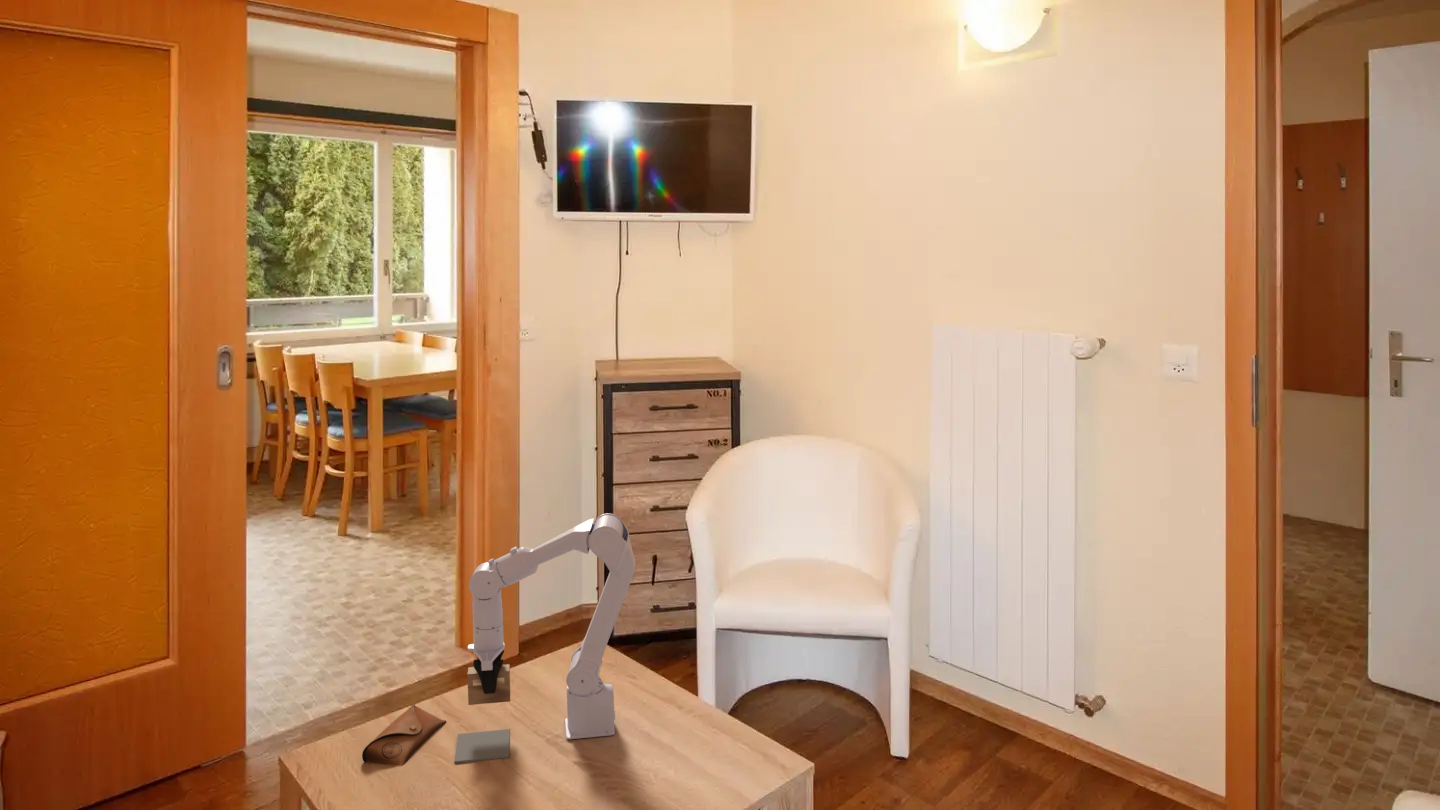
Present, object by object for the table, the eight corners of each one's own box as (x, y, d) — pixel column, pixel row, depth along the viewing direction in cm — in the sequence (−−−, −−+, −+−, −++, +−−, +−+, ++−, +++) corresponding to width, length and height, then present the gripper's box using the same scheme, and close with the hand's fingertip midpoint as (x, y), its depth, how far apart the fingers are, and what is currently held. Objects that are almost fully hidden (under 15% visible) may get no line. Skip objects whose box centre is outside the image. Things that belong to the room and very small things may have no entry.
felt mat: (509, 730, 183) (509, 729, 183) (509, 757, 174) (508, 755, 174) (458, 735, 181) (458, 733, 181) (454, 763, 172) (454, 761, 171)
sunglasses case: (403, 767, 170) (384, 736, 170) (374, 781, 172) (356, 751, 171) (449, 719, 187) (432, 691, 187) (422, 732, 189) (406, 705, 189)
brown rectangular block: (510, 694, 185) (509, 664, 184) (510, 701, 182) (509, 670, 181) (469, 697, 183) (468, 667, 182) (468, 705, 180) (467, 674, 179)
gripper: (469, 611, 186) (472, 673, 188) (464, 640, 172) (466, 707, 174) (505, 608, 187) (507, 670, 190) (502, 638, 173) (504, 704, 176)
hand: (490, 688), depth 182 cm, fingers closed on brown rectangular block, 3 cm apart
